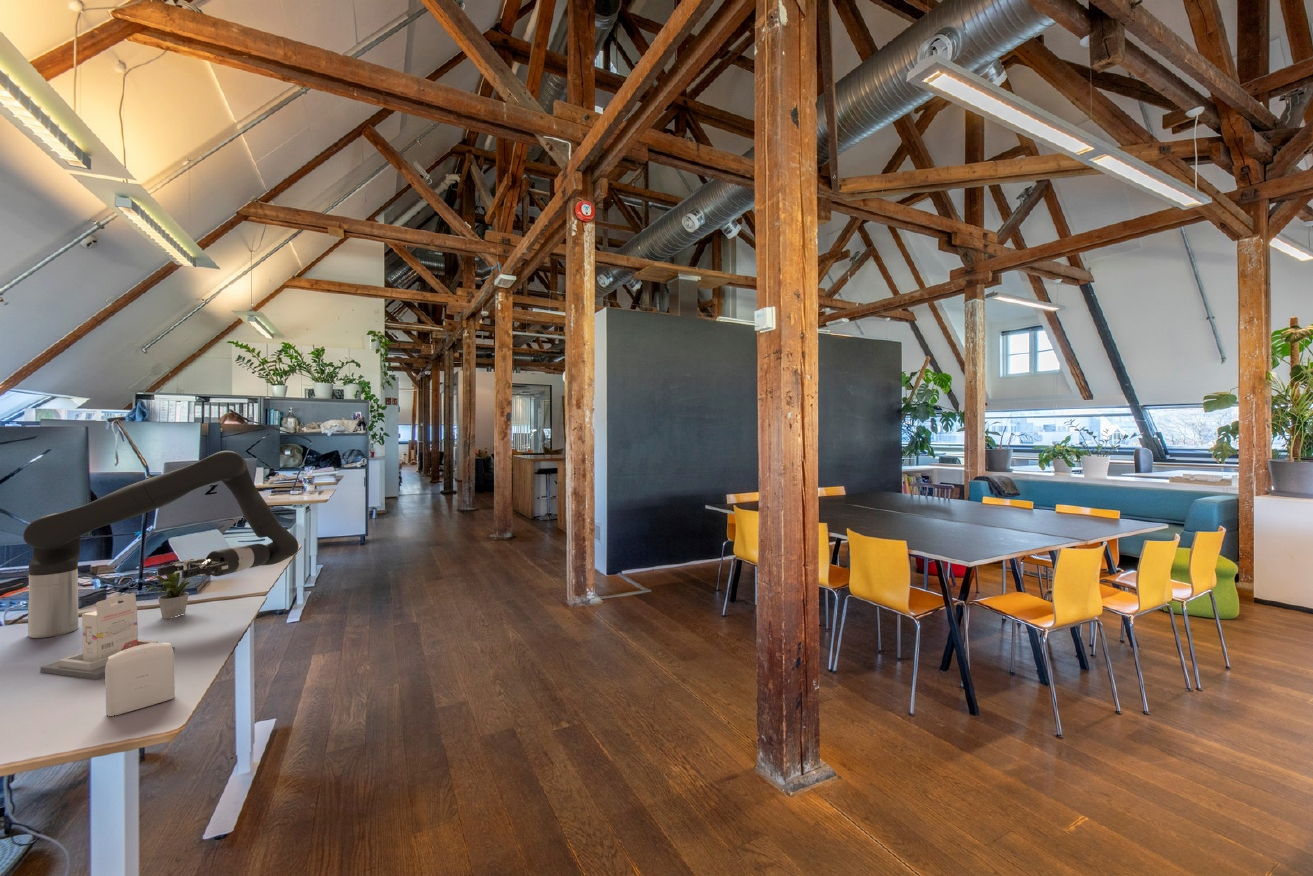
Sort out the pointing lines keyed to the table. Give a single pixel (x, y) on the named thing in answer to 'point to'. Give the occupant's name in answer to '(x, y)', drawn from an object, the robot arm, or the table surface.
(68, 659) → the refill dock
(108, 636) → the ink cartridge box
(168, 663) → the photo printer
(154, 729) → the table surface
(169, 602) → the house plant
